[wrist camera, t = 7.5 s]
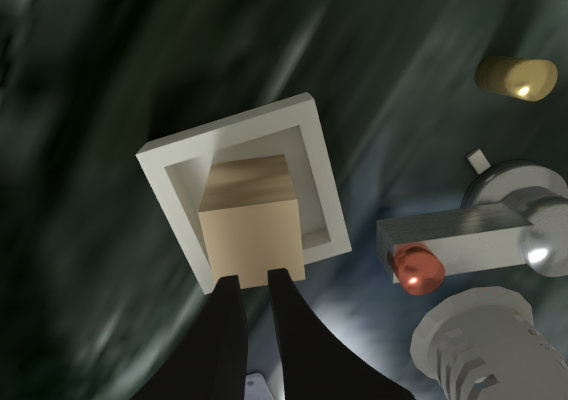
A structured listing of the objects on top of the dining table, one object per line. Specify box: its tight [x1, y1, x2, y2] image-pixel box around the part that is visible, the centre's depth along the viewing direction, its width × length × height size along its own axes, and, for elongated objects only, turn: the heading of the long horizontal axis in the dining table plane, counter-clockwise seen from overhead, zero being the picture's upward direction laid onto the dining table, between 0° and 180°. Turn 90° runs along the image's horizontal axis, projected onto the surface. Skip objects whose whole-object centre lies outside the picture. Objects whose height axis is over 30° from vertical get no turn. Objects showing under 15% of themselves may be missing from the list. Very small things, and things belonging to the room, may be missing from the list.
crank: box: [377, 186, 568, 295], centre depth 20 cm, size 11×4×4 cm, turn 96°
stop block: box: [198, 154, 305, 289], centre depth 18 cm, size 4×4×6 cm
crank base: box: [460, 56, 568, 209], centre depth 20 cm, size 6×12×4 cm, turn 16°
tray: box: [136, 92, 352, 294], centre depth 20 cm, size 9×9×2 cm
